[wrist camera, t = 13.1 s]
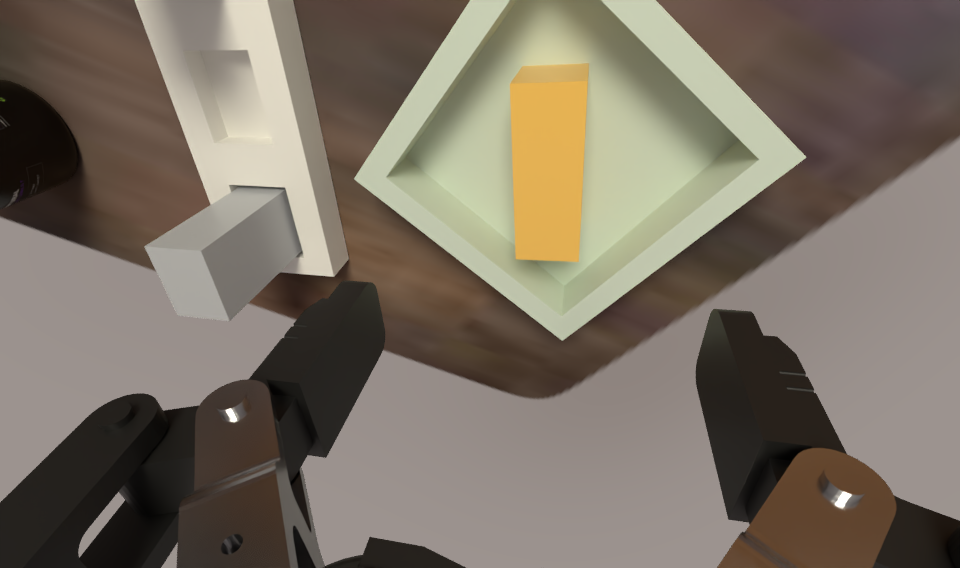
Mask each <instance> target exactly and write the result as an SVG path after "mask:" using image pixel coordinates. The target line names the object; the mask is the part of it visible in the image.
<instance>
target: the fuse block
mask: <svg viewBox="0 0 960 568" xmlns="http://www.w3.org/2000/svg"><path fill="white" fill-rule="evenodd" d="M135 3H136V6H137V8H138V11H139V14H140V16H141V19H142V22H143V24H144V27H145V30H146V32H147V35H148V38H149V40H150V43H151V46H152V48H153V51H154V54H155V56H156V59H157V62H158V65H159V67H160V70H161V73H162V75H163V78H164V81H165V83H166V86H167V89H168V91H169V94H170V97H171V99H172V102H173V105H174V107H175V110H176V113H177V115H178V118H179V121H180V123H181V126H182V129H183V132H184V134H185V137H186V140H187V142H188V145H189V148H190V150H191V153H192V156H193V158H194V161H195V164H196V166H197V169H198V172H199V174H200V177H201V180H202V182H203V185H204V188H205V191H206V193H207V196H208V199H209V201H210V204H211V205H212V204H213V203H215V202H216V201H218V200H220V199H221V198H223V197H224V196H226V195H228V194H229V193H231V192H232V191H234V190H236V189H237V188H239V187H240V186H242V185H243V186H264V187H285V189H286V192H287V196H288V200H289V203H290V207H291V211H292V214H293V218H294V222H295V225H296V229H297V232H298V236H299V240H300V243H301V247H302V251H301V252H300V253H299V254H298V255H297V256H296V257H295V258H294V259H293V260H292V261H291V262H290V263H289V264H288V265H287V266H286V267H285V268H284V269H283V270H282V271H281V272H283V273H295V274H307V275H319V276H331V277H334V276H335V275H336V274H337V273H338V271H339V270H340V269H341V268H342V267H343V265H344V264H345V263H346V262H347V261H348V260H349V257H348V252H347V248H346V243H345V238H344V234H343V229H342V224H341V220H340V215H339V211H338V206H337V201H336V197H335V192H334V187H333V183H332V178H331V173H330V169H329V164H328V160H327V155H326V150H325V146H324V141H323V136H322V132H321V127H320V122H319V118H318V113H317V109H316V104H315V99H314V95H313V90H312V85H311V81H310V76H309V71H308V67H307V62H306V58H305V53H304V48H303V44H302V39H301V34H300V30H299V25H298V20H297V16H296V11H295V7H294V2H293V0H135Z"/></svg>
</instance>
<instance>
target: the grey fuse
mask: <svg viewBox="0 0 960 568" xmlns="http://www.w3.org/2000/svg"><path fill="white" fill-rule="evenodd" d="M144 247H145V249H146V251H147V253H148V255H149V257H150V259H151V261H152V263H153V266H154V268H155V270H156V272H157V274H158V276H159V278H160V280H161V282H162V284H163V286H164V288H165V290H166V293H167V295H168V296H169V299H170V301H171V303H172V305H173V307H174V309H175V311H176V313H177V315H178V316H186V317H197V318H206V319H214V320H223V321H230V320H231V319H232V318H233V317H234V316H235V315H236V314H237V313H239V311H241V310H242V309H243V307H245V306H246V305H247V304H248V303H249V302H250V301H251V300H252V299H253V298H254V297H255V296H256V295H257V294H258V293H259V292H260V291H261V290H262V289H263V288H264V287H265V286H266V285H267V284H268V283H269V282H270V281H271V280H272V279H273V278H274V277H275V276H276V275H278V274H279V273H280V272H281V271H282V270H283V269H284V268H285V267H286V266H287V265H288V264H289V263H290V262H291V261H292V260H293V259H294V258H295V257H296V256H297V255H298V254H299V253H300V252H301V251H302V247H301V243H300V240H299V236H298V232H297V229H296V225H295V222H294V218H293V214H292V211H291V207H290V203H289V200H288V196H287V192H286V189H285V187H264V186H243V185H242V186H240V187H239V188H237V189H236V190H234V191H232V192H231V193H229V194H228V195H226V196H224V197H223V198H221V199H220V200H218V201H216V202H215V203H213V204H212V205H210V206H208V207H207V208H205V209H204V210H202V211H200V212H199V213H197V214H196V215H194V216H192V217H191V218H189V219H188V220H186V221H184V222H183V223H181V224H180V225H178V226H176V227H175V228H173V229H172V230H170V231H168V232H167V233H165V234H164V235H162V236H160V237H159V238H157V239H156V240H154V241H152V242H151V243H149V244H148V245H146V246H144Z"/></svg>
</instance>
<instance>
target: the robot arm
mask: <svg viewBox="0 0 960 568" xmlns="http://www.w3.org/2000/svg"><path fill="white" fill-rule="evenodd" d="M384 343H385V328H384V323H383V318H382V313H381V308H380V303H379V298H378V293H377V289H376V286H375V285H374V284H373V283H371V282H357V281H342V282H341V283H340V284H339V285H338V287H337V288H336V289H335V290H334V292H333V293H332V294H331V296H330V297H329V298H328V299H325V298H322V299H321V300H319V301H318V302H316V303H315V304H313V305H312V306H310V307H309V308H307V309H306V310H305V311H304V312H303V313H302V314H301V315H300V317H299V318H298V319H297V320H296V322H295V323H294V326H293V327H291V328H290V329H289V330H288V331H287V333H286V334H285V337H284V338H282V339H281V340H280V341H279V343H278V344H277V345H276V346H275V347H274V349H273V350H272V351H271V352H270V354H269V355H268V356H267V357H266V359H265V360H264V361H263V362H262V364H261V365H260V366H259V367H258V369H257V370H256V371H255V372H254V373H253V375H252V376H251V377H250V378H249V379H248V380H240V381H235V382H232V383H229V384H226V385H224V386H222V387H220V388H218V389H217V390H215V391H214V392H212V393H211V394H210V395H208V396H207V397H206V398H205V399H204V400H203V402H202V403H201V404H200V406H193V407H186V408H179V409H172V410H165V411H163V410H162V408H161V407H160V405H159V403H158V402H157V400H156V399H155V398H154V397H153V396H151V395H148V394H131V395H126V396H123V397H120V398H117V399H115V400H112V401H110V402H108V403H107V404H105V405H103V406H101V407H100V408H98V409H97V410H96V411H94V412H93V413H92V414H91V415H89V416H88V417H87V418H86V419H85V420H84V421H83V422H82V423H81V424H80V425H79V426H78V427H77V428H76V429H75V430H74V431H73V432H72V433H71V434H70V435H69V436H68V437H67V438H66V439H65V440H64V441H63V442H62V443H61V444H59V445H58V447H56V448H55V449H54V450H53V451H52V452H51V453H50V454H49V455H48V457H46V458H45V459H44V460H43V461H42V462H41V463H40V464H39V465H38V466H37V467H36V468H35V469H34V470H33V471H32V472H31V473H30V474H29V475H28V476H27V477H26V478H25V479H24V480H23V481H22V482H21V483H20V484H19V485H18V486H17V487H16V488H15V489H14V490H13V491H12V492H11V493H10V494H8V496H7V497H6V498H4V499H3V500H2V501H1V502H0V568H161V567H162V565H163V564H164V562H165V561H166V559H167V557H168V556H169V555H170V553H171V551H172V550H173V548H174V547H175V545H176V544H177V542H178V550H177V568H465V567H463V566H461V565H459V564H457V563H455V562H453V561H451V560H449V559H447V558H445V557H443V556H441V555H439V554H437V553H435V552H433V551H431V550H429V549H427V548H425V547H422V546H417V545H412V544H406V543H400V542H395V541H389V540H384V539H377V538H372V537H370V538H369V540H368V543H367V546H366V548H365V551H364V553H363V555H359V556H354V557H350V558H346V559H342V560H340V561H337V562H334V563H331V564H329V565H327V566H325V565H324V562H323V559H322V556H321V553H320V549H319V546H318V542H317V537H316V533H315V528H314V523H313V518H312V513H311V508H310V503H309V498H308V494H307V489H306V484H305V479H304V474H303V471H302V468H301V466H302V464H303V462H304V460H305V458H306V457H307V455H312V456H319V457H325V458H326V457H327V455H328V453H329V451H330V449H331V448H332V446H333V444H334V442H335V440H336V438H337V436H338V434H339V432H340V431H341V429H342V427H343V425H344V423H345V421H346V419H347V417H348V416H349V413H350V412H351V410H352V408H353V406H354V404H355V402H356V400H357V399H358V397H359V395H360V393H361V391H362V389H363V387H364V385H365V383H366V382H367V380H368V378H369V376H370V374H371V372H372V370H373V368H374V367H375V365H376V363H377V361H378V359H379V357H380V355H381V353H382V351H383V348H384ZM805 374H806V373H805V371H804V369H803V367H802V365H801V363H800V361H799V359H798V357H797V355H796V354H795V353H794V352H793V351H792V350H791V349H790V348H789V347H788V346H787V345H786V344H784V343H783V342H782V341H781V340H780V339H779V338H778V337H775V336H763V334H762V332H761V329H760V327H759V325H758V323H757V320H756V318H755V316H754V314H753V313H752V312H748V311H736V310H722V309H713V311H712V312H711V314H710V317H709V320H708V324H707V328H706V331H705V335H704V338H703V341H702V345H701V348H700V352H699V356H698V359H697V365H696V385H697V389H698V394H699V398H700V402H701V407H702V411H703V415H704V419H705V423H706V427H707V432H708V436H709V440H710V444H711V448H712V453H713V457H714V461H715V465H716V469H717V474H718V478H719V482H720V486H721V490H722V495H723V499H724V503H725V507H726V511H727V515H728V519H729V520H736V521H743V522H749V524H750V526H749V527H748V528H747V530H746V531H745V532H742V533H741V534H740V535H739V536H738V538H737V539H736V540H735V542H734V543H733V545H732V546H731V548H730V549H729V551H728V552H727V554H726V555H725V557H724V558H723V560H722V561H721V562H720V564H719V565H718V567H717V568H960V521H959V520H956V519H953V518H951V517H948V516H945V515H942V514H940V513H937V512H934V511H932V510H929V509H926V508H923V507H920V506H918V505H915V504H912V503H910V502H907V501H905V500H902V499H900V498H898V497H896V496H894V495H893V493H892V491H891V490H890V488H889V486H888V485H887V484H886V482H885V481H884V480H883V479H882V478H881V477H880V476H879V475H878V474H877V473H876V472H875V471H874V470H872V469H871V468H870V467H868V466H867V465H866V464H864V463H862V462H861V461H859V460H858V459H856V458H853V457H851V456H849V455H847V454H846V451H845V450H844V447H843V446H842V444H841V442H840V440H839V438H838V436H837V434H836V432H835V430H834V428H833V426H832V424H831V422H830V420H829V418H828V416H827V414H826V412H825V410H824V408H823V406H822V404H821V402H820V400H819V398H818V396H817V394H816V393H814V392H813V391H814V388H813V386H812V384H811V382H810V380H809V379H808V377H806V376H805ZM118 491H119V493H120V494H121V495H122V496H123V497H124V499H125V501H124V503H123V504H122V505H121V506H120V508H119V509H118V510H117V511H116V513H115V514H114V515H113V516H112V518H111V519H110V520H109V522H108V523H107V524H106V525H105V526H104V528H103V529H102V530H101V531H100V533H99V534H98V535H97V536H96V538H95V539H94V540H93V542H92V543H91V544H90V545H89V547H88V548H87V549H86V550H85V552H84V553H83V554H82V556H81V557H80V558H79V556H78V549H79V544H80V541H81V539H82V537H83V535H84V534H85V532H86V531H87V529H88V528H89V527H90V526H91V524H92V523H93V522H94V520H96V518H97V517H98V516H99V515H100V513H101V512H102V511H103V510H104V509H105V507H106V506H107V505H108V504H109V502H110V501H111V500H112V499H113V497H114V496H115V495H116V494H117V493H118Z"/></svg>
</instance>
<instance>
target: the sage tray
mask: <svg viewBox="0 0 960 568" xmlns="http://www.w3.org/2000/svg"><path fill="white" fill-rule="evenodd" d="M583 63H589V75H588V95H587V114H586V134H585V154H584V174H583V194H582V214H581V233H580V249H579V262H568V261H544V260H520V259H516V255H515V225H514V195H513V165H512V135H511V106H510V83H511V81H512V80H513V79H514V77H515V76H516V74H517V73H518V72H519V70H520V69H521V68H522V66H535V65H559V64H583ZM805 158H806V156H805V155H804V154H803V153H802V152H801V151H800V150H799V149H798V148H797V147H796V146H795V145H794V144H793V143H792V142H791V141H790V140H789V139H788V138H787V137H786V136H785V135H784V133H783V132H782V131H781V130H780V129H779V128H778V127H777V126H776V125H775V124H774V123H773V122H772V121H771V120H770V119H769V118H768V117H767V116H766V115H765V114H764V113H763V112H762V111H761V110H760V108H759V107H758V106H757V105H756V104H755V103H754V102H753V101H752V100H751V99H750V98H749V97H748V96H747V95H746V94H745V93H744V92H743V91H742V90H741V89H740V88H739V87H738V86H737V85H736V83H735V82H734V81H733V80H732V79H731V78H730V77H729V76H728V75H727V74H726V73H725V72H724V71H723V70H722V69H721V68H720V67H719V66H718V65H717V64H716V63H715V62H714V61H713V60H712V58H711V57H710V56H709V55H708V54H707V53H706V52H705V51H704V50H703V49H702V48H701V47H700V46H699V45H698V44H697V43H696V42H695V41H694V40H693V39H692V38H691V37H690V36H689V35H688V33H687V32H686V31H685V30H684V29H683V28H682V27H681V26H680V25H679V24H678V23H677V22H676V21H675V20H674V19H673V18H672V17H671V16H670V15H669V14H668V13H667V12H666V11H665V10H664V9H663V7H662V6H661V5H660V4H659V3H658V2H657V1H656V0H470V2H469V3H468V5H467V6H466V8H465V9H464V11H463V12H462V14H461V16H460V17H459V19H458V20H457V22H456V23H455V25H454V26H453V28H452V29H451V31H450V32H449V34H448V36H447V37H446V39H445V40H444V42H443V43H442V45H441V46H440V48H439V49H438V51H437V52H436V54H435V55H434V57H433V59H432V60H431V62H430V63H429V65H428V66H427V68H426V69H425V71H424V72H423V74H422V75H421V77H420V78H419V80H418V82H417V83H416V85H415V86H414V88H413V89H412V91H411V92H410V94H409V95H408V97H407V98H406V100H405V101H404V103H403V105H402V106H401V108H400V109H399V111H398V112H397V114H396V115H395V117H394V118H393V120H392V121H391V123H390V125H389V126H388V128H387V129H386V131H385V132H384V134H383V135H382V137H381V138H380V140H379V141H378V143H377V144H376V146H375V148H374V149H373V151H372V152H371V154H370V155H369V157H368V158H367V160H366V161H365V163H364V164H363V166H362V167H361V169H360V171H359V172H358V174H357V175H356V177H355V178H354V179H355V180H356V181H357V182H359V183H360V184H361V185H362V186H364V187H365V188H366V189H368V190H369V191H370V192H371V193H373V194H374V195H375V196H377V197H378V198H379V199H380V200H382V201H383V202H384V203H386V204H387V205H388V206H389V207H391V208H392V209H393V210H395V211H396V212H397V213H398V214H400V215H401V216H402V217H404V218H405V219H406V220H407V221H409V222H410V223H411V224H413V225H414V226H415V227H416V228H418V229H419V230H420V231H422V232H423V233H424V234H425V235H427V236H428V237H429V238H431V239H432V240H433V241H434V242H436V243H437V244H438V245H440V246H441V247H442V248H443V249H445V250H446V251H447V252H449V253H450V254H451V255H452V256H454V257H455V258H456V259H458V260H459V261H460V262H461V263H463V264H464V265H465V266H467V267H468V268H469V269H470V270H472V271H473V272H474V273H476V274H477V275H478V276H479V277H481V278H482V279H483V280H485V281H486V282H487V283H488V284H490V285H491V286H492V287H494V288H495V289H496V290H497V291H499V292H500V293H501V294H503V295H504V296H505V297H506V298H508V299H509V300H510V301H512V302H513V303H514V304H515V305H517V306H518V307H519V308H521V309H522V310H523V311H524V312H526V313H527V314H528V315H530V316H531V317H532V318H533V319H535V320H536V321H537V322H539V323H540V324H541V325H542V326H544V327H545V328H546V329H548V330H549V331H550V332H551V333H553V334H554V335H555V336H557V337H558V338H559V339H560V340H562V341H563V340H564V339H566V338H567V337H568V336H570V335H571V334H572V333H573V332H575V331H576V330H577V329H579V328H580V327H581V326H583V325H584V324H585V323H587V322H588V321H589V320H591V319H592V318H593V317H595V316H596V315H597V314H599V313H600V312H601V311H603V310H604V309H605V308H607V307H608V306H609V305H611V304H612V303H613V302H615V301H616V300H617V299H619V298H620V297H621V296H623V295H624V294H625V293H627V292H628V291H629V290H631V289H632V288H633V287H635V286H636V285H637V284H639V283H640V282H641V281H643V280H644V279H645V278H647V277H648V276H649V275H651V274H652V273H653V272H655V271H656V270H657V269H659V268H660V267H661V266H663V265H664V264H665V263H667V262H668V261H669V260H671V259H672V258H673V257H675V256H676V255H677V254H679V253H680V252H681V251H683V250H684V249H685V248H687V247H688V246H689V245H691V244H692V243H693V242H695V241H696V240H697V239H699V238H700V237H701V236H703V235H704V234H705V233H707V232H708V231H709V230H711V229H712V228H713V227H714V226H716V225H717V224H718V223H720V222H721V221H722V220H724V219H725V218H726V217H728V216H729V215H730V214H732V213H733V212H734V211H736V210H737V209H738V208H740V207H741V206H742V205H744V204H745V203H746V202H748V201H749V200H750V199H752V198H753V197H754V196H756V195H757V194H758V193H760V192H761V191H762V190H764V189H765V188H766V187H768V186H769V185H770V184H772V183H773V182H774V181H776V180H777V179H778V178H780V177H781V176H782V175H784V174H785V173H786V172H788V171H789V170H790V169H792V168H793V167H794V166H796V165H797V164H798V163H800V162H801V161H802V160H804V159H805Z"/></svg>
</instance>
